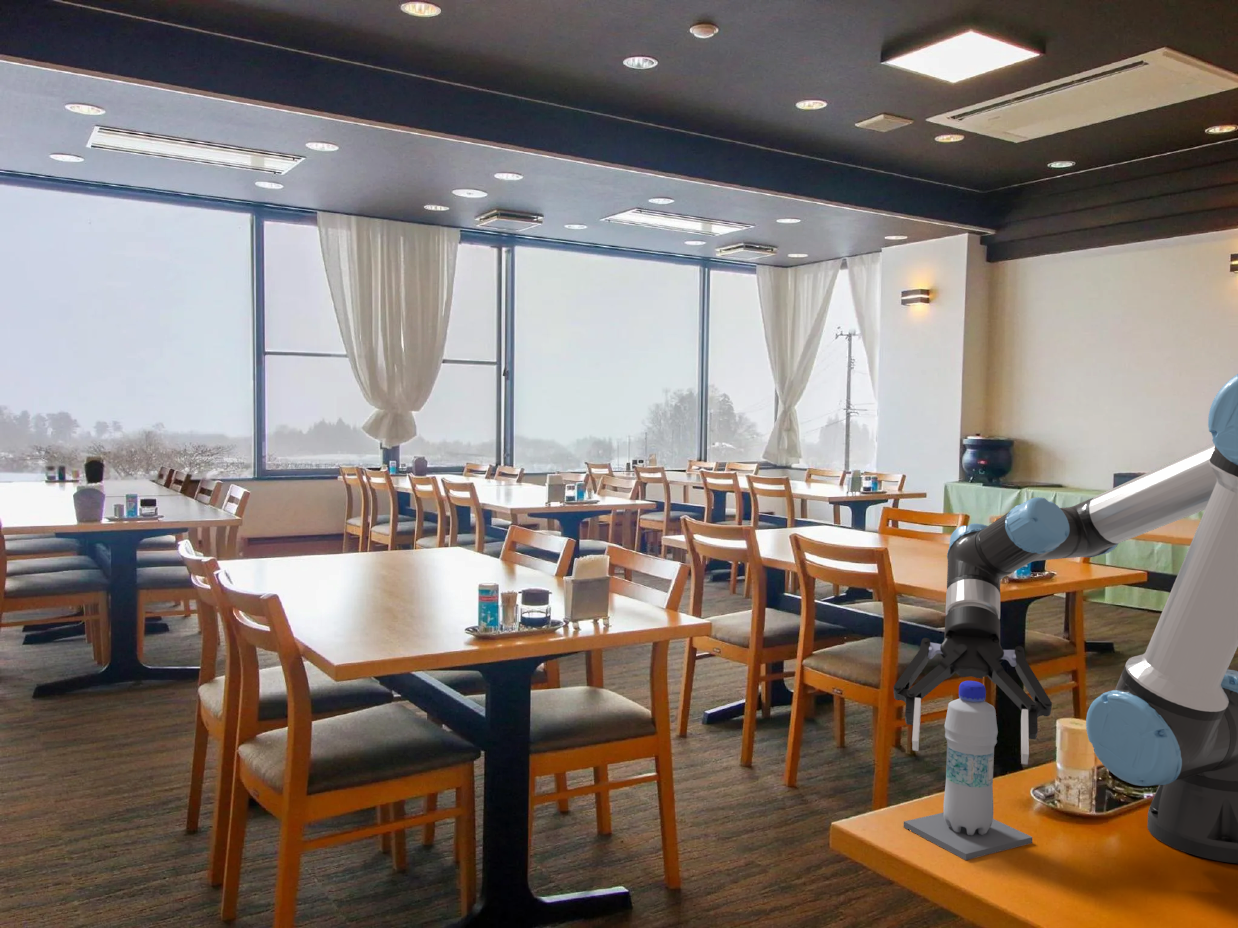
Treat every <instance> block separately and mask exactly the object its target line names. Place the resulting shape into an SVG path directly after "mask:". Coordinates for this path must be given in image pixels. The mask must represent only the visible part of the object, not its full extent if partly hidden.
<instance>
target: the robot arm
mask: <svg viewBox="0 0 1238 928" xmlns="http://www.w3.org/2000/svg"><path fill="white" fill-rule="evenodd" d="M1207 426H1208V432H1209V433H1211V436H1212V443H1210V444H1209V445H1207V446H1204V447H1202V448H1200V449H1197V450H1196V451H1195V450H1194V451H1193V452H1191V453H1189V454H1186V455H1184V456H1181V457H1180V458H1178V459H1176V460H1173V461H1171V462H1169V463H1165V464H1164V465H1163V466H1162V465H1161V466H1160V467H1158V468H1157V467H1156V468H1155V469H1153V470H1151V471H1149V472H1146V473H1143V474H1142V475H1140V476H1137V477H1134V478H1133V479H1130V480H1128V481H1126V482H1124V483H1122V484H1120V485H1118V486H1115V487H1113V488H1111V489H1109V490H1107V491H1105V492H1102V493H1100V494H1097V495H1096V496H1093V497H1092V498H1088V499H1086V500H1084V501H1082V502H1080V503H1078V504H1075V505H1073V506H1069V507H1060V506H1059V505H1057V503H1055V502H1053V501H1051V500H1048V499H1047V498H1045V497H1041V496H1039V497H1038V496H1037V497H1032V498H1029V499H1028V500H1025V502H1023V503H1019V504H1017V505H1015V506H1014V507H1012V508H1011V509H1010V511H1008V512H1007V513H1004V514H1003V515H1002V516H1000V517H998V518H997V519H996V520H995V521H992V523H991V524H989V525H987V524H982V523H970V524H968V525H961V526H959V527H957V528H956V529H954V530H953V532H952V533H951V534H950V538H949V547H948V549H947V555H946V560H947V573H946V594H945V595H946V596H945V618H944V619H945V620H944V639H943V642H942V643H937V642H931V639H930V638H928V637H923V638H922V639H921V642H920V646H919V650H918V652H917V653H916V655H915V656H914V657H913V659H911V662H910V663H909V664H908V665H907V667H906V668H905V669H904V671H903V673H902V674H901V675H900V677H899V678H898V679H897V680H896V682H895V684H894V685H893V698H894V700H896V701H903V702H904V703H905V710H904V713H905V714H904V718H905V719H904V721H905V724H906V725H908V726H912V737H911V743H912V747H911V748H912V749H911V750H912V751H914V752H919V744H920V732H921V731H920V730H921V714H922V713H921V712H922V699H924V698H925V697H926V696H927V695H928V694H931V692H932V691H933V690H934V689H936V688H937V687H938V686H939V685H940V684H942V683H943V682H944V681H945V680H948V679H950V678H951V677H952V676H953V675H958V676H959V677H962V678H968V677H973V678H975V679H984V678H986V677H987V678H988V679H989V680H990V681H991V682H992V683H993V684H994V685H997V686H998V687H999V689H1001V691H1002V692H1004V694H1005V695H1006V696H1007V697H1008V698H1009V699H1010V700H1011V701H1012V702H1013V703H1014V705H1016V707H1018V709H1019V710H1020V711H1021V713H1020V755H1021V757H1020V759H1021V760H1020V761H1021V763H1020V764H1021V765H1029V756H1030V751H1029V750H1030V749H1029V748H1030V747H1029V745H1030V744H1029V740H1037V737H1038V732H1039V731H1038V730H1039V728H1038V718H1039V717H1042V716H1043V717H1050V715H1051V714H1052V713H1051V712H1052V706H1053V703H1052V700H1051V699H1050V698H1049V696H1048V694H1047V692H1046V691H1045V689H1044V688H1043V685H1042V684H1041V682H1040V681H1039V679H1038V678H1037V676H1036V674H1035V673H1034V670H1032V668H1031V666H1030V665H1029V663H1028V661H1027V659H1026V653H1025V648H1024V647H1023V646H1021V645H1018V646H1015V647H1014V649H1003V648H1002V646H1001V621H1000V619H1001V581H1002V580H1003V579H1004V578H1005V577H1007V576H1008V575H1011V574H1013V573H1014V572H1016V571H1018V570H1020V569H1021V568H1023V567H1024V566H1026V565H1028V564H1030V563H1032V562H1037V561H1047V560H1048V561H1051V560H1060V559H1074V558H1095V557H1098V556H1101V555H1107V554H1109V553H1110V552H1113V551H1114V550H1115V549H1116V548H1118V545H1119V544H1121V543H1123V542H1125V541H1128V540H1130V539H1131V540H1132V539H1133V538H1136V537H1138V536H1142V535H1144V534H1146V533H1149V532H1151V531H1152V532H1153V531H1154V530H1156V529H1159V528H1161V527H1164V526H1166V525H1169V524H1172V523H1174V522H1177V521H1180V520H1182V519H1185V518H1187V517H1189V516H1192V515H1195V514H1198V513H1200V512H1203V514H1202V516H1201V519H1200V521H1199V524H1198V526H1197V528H1196V530H1195V532H1194V534H1193V538H1192V540H1191V543H1190V545H1189V547H1188V550H1187V552H1186V554H1185V557H1184V560H1183V562H1182V564H1181V566H1180V568H1179V571H1178V574H1177V576H1176V578H1175V581H1174V583H1173V585H1172V587H1171V591H1170V593H1169V594H1168V598H1167V600H1166V602H1165V605H1164V607H1163V609H1162V612H1161V614H1160V616H1159V618H1158V621H1157V622H1156V623H1157V624H1156V627H1155V629H1154V631H1153V633H1152V635H1151V638H1150V640H1149V643H1148V644H1147V647H1146V650H1145V652H1144V653H1143V654H1138V655H1135V656H1131V657H1129V658H1128V660H1127V661H1126V663H1125V665H1124V667H1123V669H1122V672H1121V675H1120V677H1119V679H1118V682H1117V684H1116V686H1115V688H1114V689H1113V690H1109V691H1106V692H1103V693H1101V694H1100V695H1099V696H1097V697H1096V698H1094V700H1093V701H1092V702H1091V704H1090V705H1089V708H1088V709H1087V713H1086V719H1085V727H1086V728H1085V729H1086V734H1087V739H1088V742H1089V743H1090V744H1091V745H1092V747H1093V752H1094V754H1095V756H1096V757H1097V759H1098V760H1099V761H1100V763H1101V764H1102V765H1103V767H1104V768H1106V769H1107V770H1108V771H1109V772H1110V773H1112V774H1113V775H1114V776H1115V777H1117V778H1118V779H1120V780H1121V781H1124V782H1126V783H1129V784H1131V785H1134V786H1140V787H1151V786H1158V787H1157V789H1156V791H1155V794H1154V796H1153V799H1152V801H1151V803H1150V806H1149V807H1148V810H1147V811H1148V812H1147V830H1148V832H1149V833H1150V834H1151V835H1152V836H1153V837H1154V838H1155V839H1157V840H1159V841H1160V842H1162V843H1163V844H1165V845H1167V846H1169V847H1171V848H1174V849H1176V850H1178V851H1181V852H1184V853H1186V854H1190V855H1191V856H1192V855H1193V856H1196V857H1200V858H1203V859H1207V860H1212V861H1218V862H1221V863H1222V862H1223V863H1231V864H1238V671H1237V670H1234V669H1229V666H1230V665H1231V662H1232V661H1233V658H1234V656H1235V653H1236V652H1237V649H1238V373H1237V374H1235V375H1234V376H1233V377H1231V378H1230V379H1228V380H1227V381H1226V382H1225V383H1224V384H1223V385H1222V387H1221V388H1220V389H1219V391H1217V393H1216V394H1215V396H1214V398H1213V400H1212V402H1211V405H1210V407H1209V413H1208V419H1207ZM938 654H940V656H941V657H942V659H941V661H939V664H938V665H937V666H935V667H934V668H933V669H932V670H930V671H929V672H928V673H927V674H926V675H924V676H923V677H922V678H921V679H920V680H919V681H917V682H916V683H915V681H916V680H917V679H918V677H919V676H920V674H921V673H922V672H923V670H924V669H925V668H926V666H927V664H928V662H929V660H932V659H933V658H934V657H935V656H936V655H938ZM1004 660H1006V661H1007V662H1008V663H1009V665H1010V666H1011V667H1015V670H1016V674H1017V675H1018V677H1019V679H1020V681H1021V682H1022V684H1023V685H1024V687H1025V689H1026V690H1027V692H1028V693H1026V692H1025V691H1024V689H1023V688H1021V687H1020V685H1019V684H1018V683H1017V682H1016V681H1015V680H1014V679H1013V678H1012V676H1011V675H1009V674H1008V673H1007V672H1006V670H1004V667H1003V665H1002V664H1001V663H1002V662H1003V661H1004ZM914 683H915V684H914ZM913 684H914V685H913ZM1028 694H1029V695H1030V696H1029V695H1028Z"/></svg>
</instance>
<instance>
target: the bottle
mask: <svg viewBox="0 0 1238 928" xmlns="http://www.w3.org/2000/svg"><path fill="white" fill-rule="evenodd" d="M986 694H987V690H986V686H985V685H984V684H983V683H981V682H979V681H975V680H965V681H962V682H961V683H960V684H959V686H958V697H959V698H957V699H954V700H953V699H952V700H951V701H950V702H948V704H947V705H948V706H947V712H946V715H945V716H946V717H945V721H944V731H945V733H944V737H945V739H946V764H945V765H946V767H945V768H946V769H945V787H944V794H943V795H944V797H943V812H944V819H945V822H946V824H947V825H948V826H949V827H951V828H953V830H954V831H955V832H958V833H959V832H960V831H961V827H965V828H966V829H967V834H968V835H970V836H972V835H974V833H975V830H976V829H978V833H979V834H980V835H983V834H985V833H987V831H988V829H989V828H990V827H991V825H992V821H993V819H994V792H993V791H994V790H993V786H994V785H993V782H994V762H995V761H994V760H995V759H994V757H995V756H994V755H995V746H996V744H997V743H998V740H997V737H998V733H999V731H998V724H997V716H996V715H997V713H996V709H995V707H994V705H992V704H990V703H988V702H987V701H986V697H987V695H986Z"/></svg>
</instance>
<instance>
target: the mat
mask: <svg viewBox="0 0 1238 928" xmlns="http://www.w3.org/2000/svg"><path fill="white" fill-rule="evenodd" d="M904 827H905V829H907V830H908V829H909V830H908V831H910V830H911V831H910V832H911V833H913V832H914V833H913V834H915V833H916V835H917V834H918V836H919V835H920V836H919V837H921V838H923V839H925V840H926V841H928V842H930V841H931V843H933V844H934V845H936V846H938V847H940V848H941V849H943V850H946V851H948V852H950V853H952V854H953V855H955V856H957V857H959V858H961V859H962V860H964V861H969V860H973V859H975V858H979V857H985V856H987V855H991V854H995V853H1000V852H1004V851H1006V850H1007V851H1008V850H1011V849H1014V848H1018V847H1022V846H1026V845H1030V844H1033V836H1031V835H1029V834H1027V833H1025V832H1022V831H1020V830H1018V829H1016V828H1014V827H1011V826H1009V825H1007V824H1005V823H1003V822H1001V821H999V820H997V819H995V818H993V821H992V825H991V827H990V828H989V829H988V831H987V833H985V834H983V835H980V834H979V833H978V829H976V830H975V833H974V835H972V836H970V835H968V834H967V829H966V828H965V827H961V831H960V832H959V833H958V832H955V831H954V830H953V828H951V827H949V826H948V825H947V824H946V822H945V819H944V811H943V812H939V813H935V814H930V815H927V816H922V817H918V818H914V819H909V820H905V821H903V828H904Z"/></svg>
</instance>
